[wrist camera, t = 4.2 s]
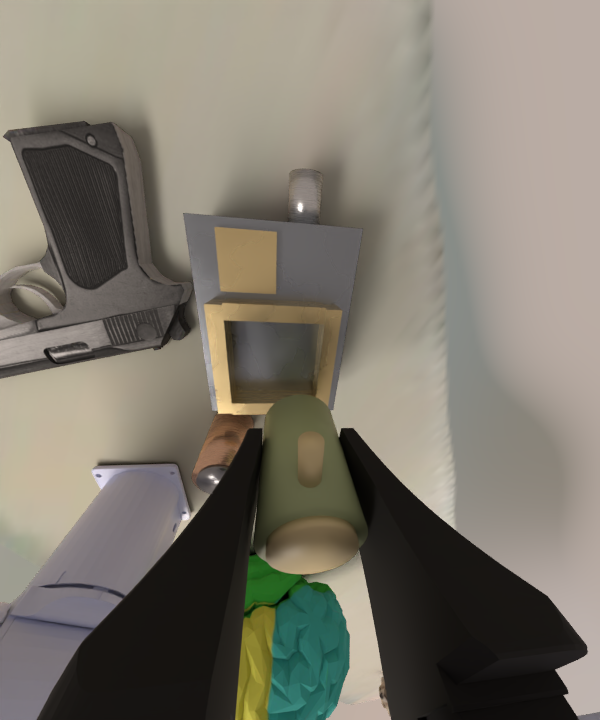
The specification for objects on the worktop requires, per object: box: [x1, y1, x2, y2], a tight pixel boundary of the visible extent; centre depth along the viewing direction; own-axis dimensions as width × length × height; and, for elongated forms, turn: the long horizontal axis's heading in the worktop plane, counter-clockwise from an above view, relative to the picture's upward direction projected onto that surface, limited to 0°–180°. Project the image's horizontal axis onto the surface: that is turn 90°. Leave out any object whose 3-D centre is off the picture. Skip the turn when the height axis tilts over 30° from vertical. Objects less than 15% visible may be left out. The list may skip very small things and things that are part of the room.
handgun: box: [0, 121, 193, 378], centre depth 13 cm, size 18×2×12 cm
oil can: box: [253, 395, 368, 574], centre depth 9 cm, size 5×4×6 cm
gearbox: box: [183, 169, 363, 415], centre depth 14 cm, size 14×9×5 cm, turn 176°
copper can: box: [192, 413, 253, 494], centre depth 18 cm, size 4×4×6 cm
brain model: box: [235, 554, 350, 720], centre depth 28 cm, size 24×19×15 cm
